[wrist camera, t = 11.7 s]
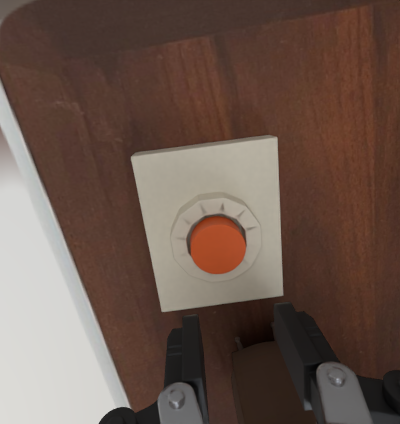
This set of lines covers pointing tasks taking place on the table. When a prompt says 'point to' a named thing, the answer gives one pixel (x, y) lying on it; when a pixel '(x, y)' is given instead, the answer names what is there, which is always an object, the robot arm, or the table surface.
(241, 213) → the control block
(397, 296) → the table surface
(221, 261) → the button
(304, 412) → the alarm clock
